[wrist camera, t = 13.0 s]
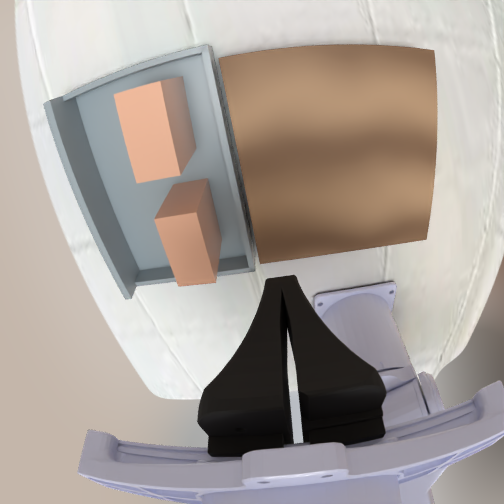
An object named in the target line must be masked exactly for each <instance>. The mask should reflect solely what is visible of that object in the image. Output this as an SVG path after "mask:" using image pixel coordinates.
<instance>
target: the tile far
mask: <svg viewBox="0 0 504 504" xmlns="http://www.w3.org/2000/svg"><path fill="white" fill-rule="evenodd" d="M154 221H155V224H156V227H157V230H158V233H159V235H160V238H161V241H162V244H163V247H164V249H165V252H166V255H167V258H168V260H169V263H170V266H171V268H172V271H173V273H174V276H175V279H176V281H177V284H178V286H188V285H198V284H208V283H216V279H217V272H218V264H219V257H220V250H221V243H222V236H221V232H220V228H219V224H218V220H217V215H216V211H215V207H214V202H213V198H212V194H211V189H210V185H209V181H208V178H205V179H200V180H194V181H188V182H183V183H177V184H173V186H172V188H171V189H170V191H169V193H168V195H167V196H166V198H165V200H164V202H163V204H162V205H161V207H160V209H159V211H158V213H157V214H156V216H155V218H154Z"/></svg>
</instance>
